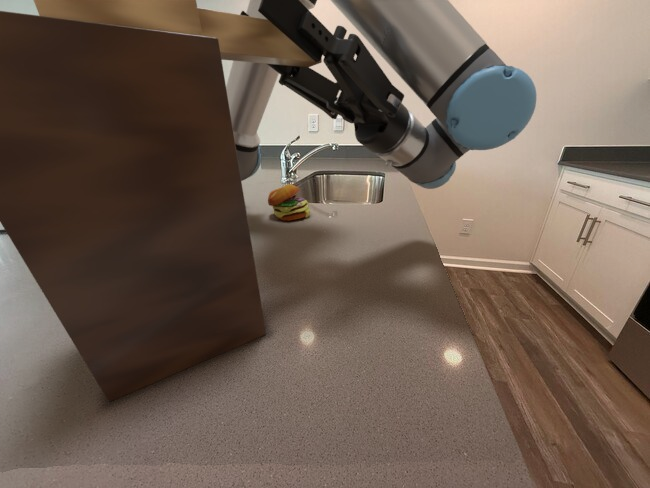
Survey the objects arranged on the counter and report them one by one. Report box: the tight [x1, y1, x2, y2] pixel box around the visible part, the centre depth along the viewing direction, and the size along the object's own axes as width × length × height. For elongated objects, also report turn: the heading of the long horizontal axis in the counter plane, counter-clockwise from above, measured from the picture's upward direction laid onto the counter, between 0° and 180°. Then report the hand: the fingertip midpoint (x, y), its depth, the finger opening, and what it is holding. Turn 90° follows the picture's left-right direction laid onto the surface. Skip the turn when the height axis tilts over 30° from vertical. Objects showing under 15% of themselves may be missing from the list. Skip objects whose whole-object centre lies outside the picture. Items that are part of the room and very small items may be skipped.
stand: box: [0, 10, 267, 402], centre depth 27 cm, size 16×12×30 cm
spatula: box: [33, 0, 323, 68], centre depth 24 cm, size 22×11×3 cm, turn 122°
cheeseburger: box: [267, 183, 311, 222], centre depth 71 cm, size 10×11×10 cm
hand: (249, 10), depth 25 cm, fingers open, 8 cm apart
